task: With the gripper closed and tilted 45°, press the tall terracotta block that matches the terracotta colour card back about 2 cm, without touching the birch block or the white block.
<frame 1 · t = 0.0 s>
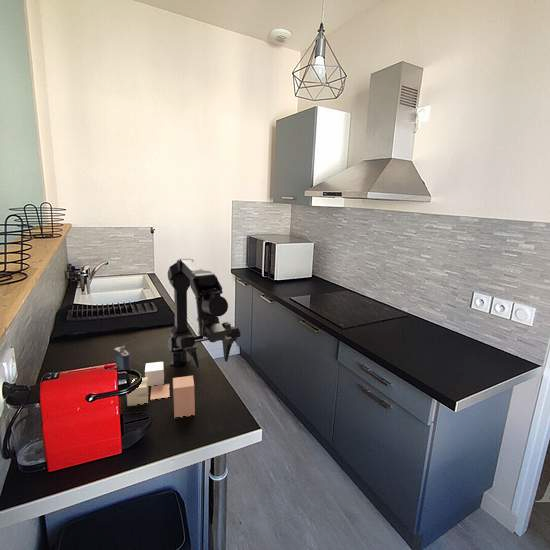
hand: (212, 364, 101), 15 cm above the countertop, tool pointing down, fingers open, 9 cm apart
white block: (155, 381, 119), on the countertop
birch block: (138, 399, 108), on the countertop
flask: (123, 373, 124), on the countertop
colour card: (160, 392, 112), on the countertop
terracotta block: (183, 396, 102), point 5 cm above the countertop, slide at 0.0 cm
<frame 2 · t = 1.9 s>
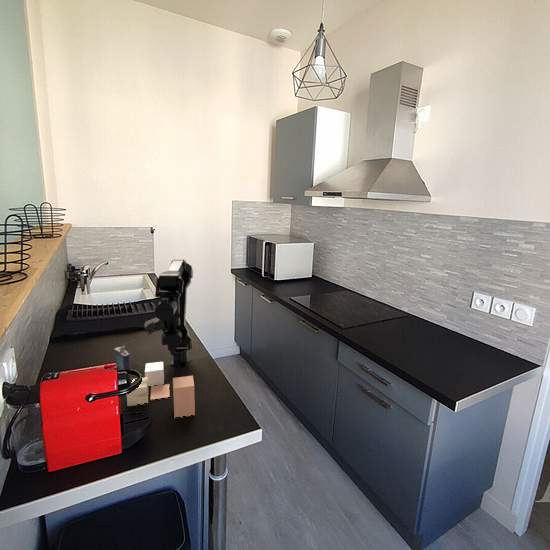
hand: (172, 352, 115), 12 cm above the countertop, tool pointing down, fingers open, 3 cm apart
nothing on the countertop moved.
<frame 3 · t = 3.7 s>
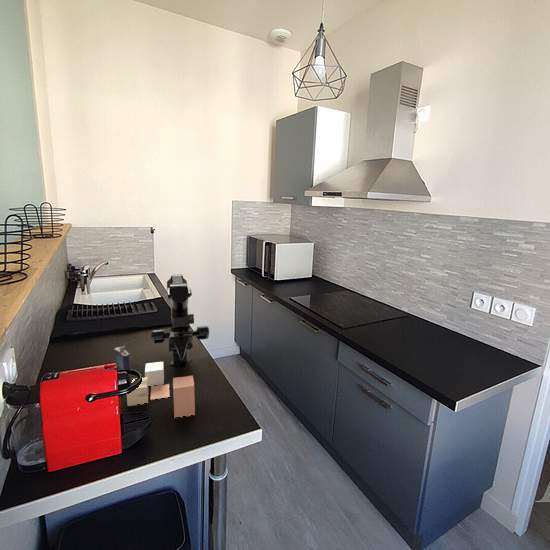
hand: (182, 359, 109), 13 cm above the countertop, tool tilted 45°, fingers closed
nothing on the countertop moved.
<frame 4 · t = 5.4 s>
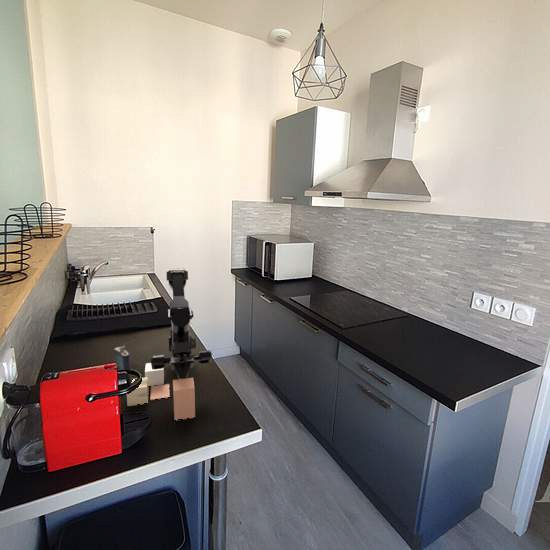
hand: (183, 386, 103), 7 cm above the countertop, tool tilted 45°, fingers closed, pressing on terracotta block
terracotta block: (184, 398, 101), point 5 cm above the countertop, slide at 1.1 cm, touching gripper
everything else where it was.
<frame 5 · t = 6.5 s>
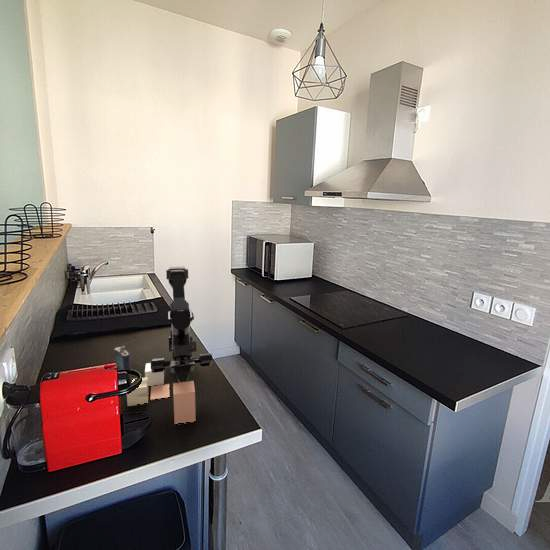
hand: (183, 390, 102), 7 cm above the countertop, tool tilted 45°, fingers closed
terracotta block: (184, 402, 99), point 5 cm above the countertop, slide at 3.0 cm
everything else where it was.
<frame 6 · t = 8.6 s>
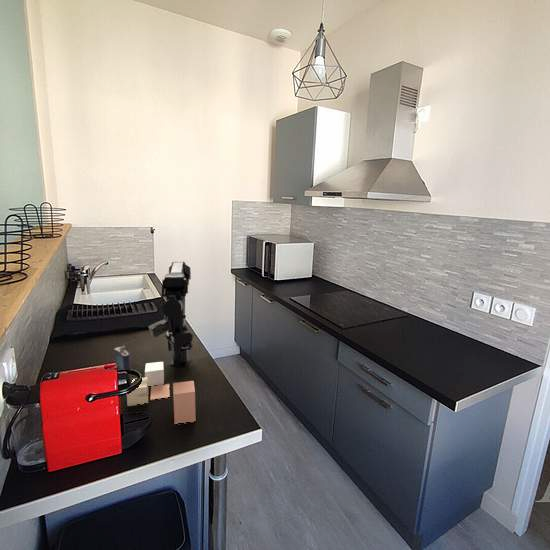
hand: (176, 356, 114), 11 cm above the countertop, tool pointing down, fingers closed
nothing on the countertop moved.
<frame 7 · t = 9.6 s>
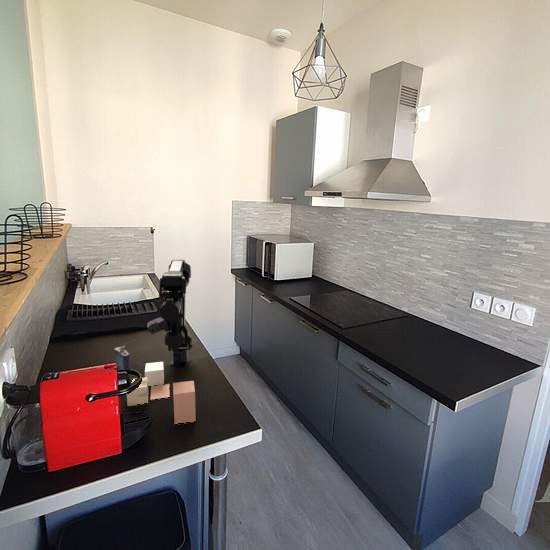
hand: (175, 352, 115), 12 cm above the countertop, tool pointing down, fingers closed
nothing on the countertop moved.
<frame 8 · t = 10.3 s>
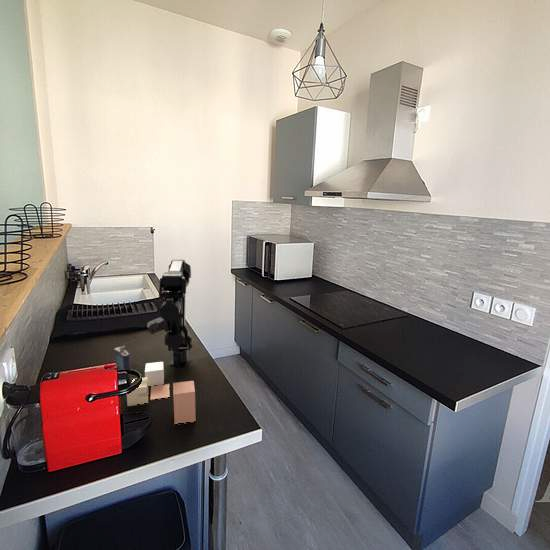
hand: (175, 352, 115), 12 cm above the countertop, tool pointing down, fingers closed
nothing on the countertop moved.
at the end: terracotta block slide at 3.0 cm; birch block moved 0.1 cm from its start; white block moved 0.1 cm from its start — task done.
